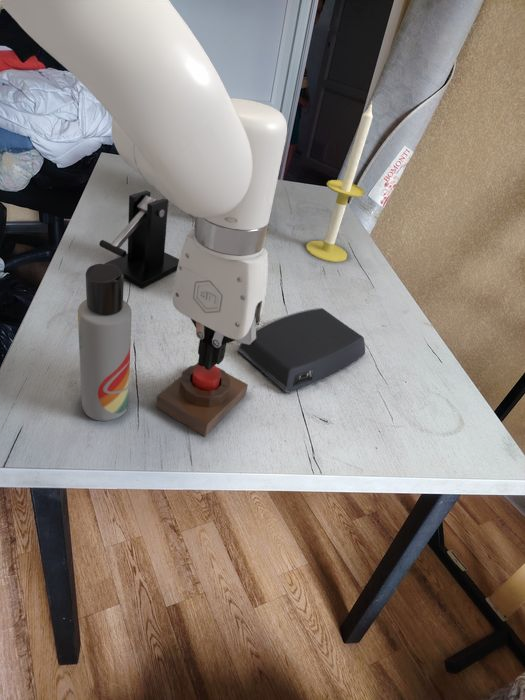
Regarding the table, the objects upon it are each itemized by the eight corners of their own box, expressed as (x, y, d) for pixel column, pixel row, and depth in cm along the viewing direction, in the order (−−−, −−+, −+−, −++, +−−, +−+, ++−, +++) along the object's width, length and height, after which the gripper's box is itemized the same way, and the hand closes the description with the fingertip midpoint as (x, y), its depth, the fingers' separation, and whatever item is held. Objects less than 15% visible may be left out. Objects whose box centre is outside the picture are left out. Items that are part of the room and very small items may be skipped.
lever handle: (124, 261, 80) (119, 252, 78) (102, 250, 82) (96, 241, 80) (166, 211, 84) (162, 202, 82) (144, 202, 86) (140, 192, 84)
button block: (205, 437, 61) (209, 415, 58) (155, 407, 63) (157, 385, 61) (245, 395, 68) (250, 374, 66) (200, 370, 71) (203, 349, 68)
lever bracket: (142, 288, 85) (146, 215, 77) (104, 269, 87) (103, 196, 79) (183, 266, 94) (191, 199, 86) (147, 249, 96) (151, 182, 88)
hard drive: (232, 348, 76) (236, 328, 74) (313, 318, 88) (319, 299, 86) (288, 398, 70) (295, 377, 67) (367, 358, 81) (375, 339, 79)
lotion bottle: (136, 411, 62) (143, 277, 50) (94, 428, 58) (91, 288, 47) (115, 385, 65) (116, 252, 53) (74, 399, 61) (66, 261, 49)
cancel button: (208, 395, 62) (210, 385, 61) (186, 382, 63) (187, 372, 62) (224, 381, 64) (226, 371, 63) (202, 369, 65) (203, 359, 64)
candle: (352, 252, 115) (402, 106, 96) (338, 266, 107) (389, 111, 88) (315, 237, 118) (356, 92, 98) (299, 250, 110) (340, 95, 91)
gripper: (151, 215, 50) (145, 350, 61) (274, 270, 46) (243, 405, 57) (194, 199, 56) (181, 326, 67) (307, 246, 51) (273, 374, 62)
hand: (209, 362), depth 62 cm, fingers closed
